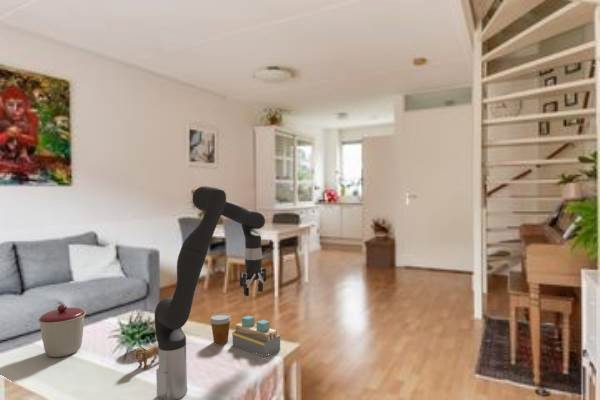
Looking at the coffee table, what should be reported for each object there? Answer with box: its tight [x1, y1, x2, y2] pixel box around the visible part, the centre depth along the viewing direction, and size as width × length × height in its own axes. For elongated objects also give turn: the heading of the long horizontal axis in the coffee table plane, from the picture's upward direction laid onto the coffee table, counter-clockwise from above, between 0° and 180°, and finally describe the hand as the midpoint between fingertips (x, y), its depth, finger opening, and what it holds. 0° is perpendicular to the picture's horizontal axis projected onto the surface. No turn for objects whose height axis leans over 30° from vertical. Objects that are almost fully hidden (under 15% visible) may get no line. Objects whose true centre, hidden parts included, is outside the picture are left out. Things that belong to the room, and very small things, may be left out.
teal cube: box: [256, 319, 271, 332], centre depth 168 cm, size 4×4×4 cm
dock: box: [231, 330, 281, 357], centre depth 172 cm, size 10×20×6 cm, turn 52°
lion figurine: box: [132, 345, 159, 370], centre depth 156 cm, size 15×5×9 cm, turn 153°
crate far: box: [241, 315, 256, 327], centre depth 174 cm, size 4×4×4 cm
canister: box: [37, 304, 87, 358], centre depth 168 cm, size 18×18×21 cm
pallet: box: [235, 321, 278, 342], centre depth 171 cm, size 6×20×3 cm, turn 52°
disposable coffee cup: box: [209, 312, 232, 345], centre depth 177 cm, size 10×10×12 cm
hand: (253, 293), depth 171 cm, fingers open, 8 cm apart
